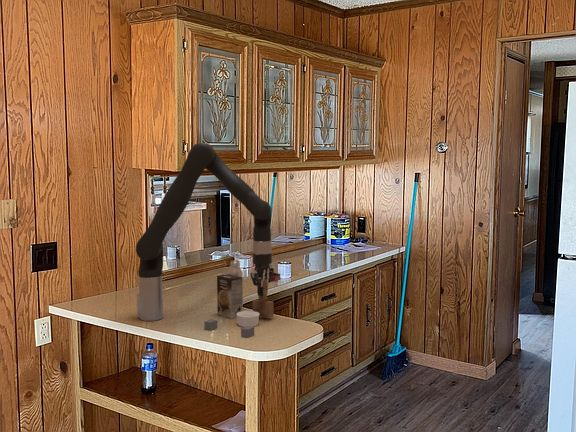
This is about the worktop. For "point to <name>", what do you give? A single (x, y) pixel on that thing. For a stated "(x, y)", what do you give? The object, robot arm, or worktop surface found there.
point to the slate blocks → (245, 331)
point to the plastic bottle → (235, 270)
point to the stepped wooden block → (264, 303)
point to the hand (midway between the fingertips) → (262, 294)
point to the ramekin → (247, 318)
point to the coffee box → (229, 295)
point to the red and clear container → (275, 276)
